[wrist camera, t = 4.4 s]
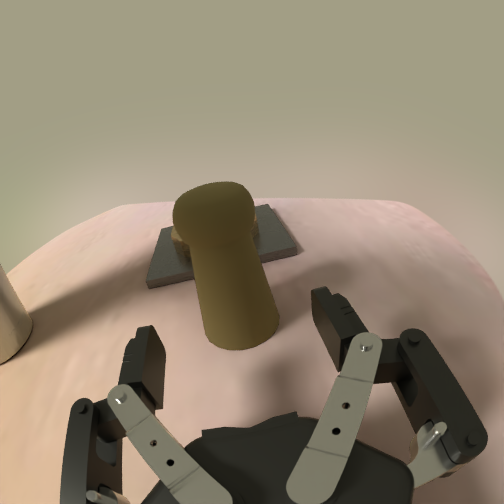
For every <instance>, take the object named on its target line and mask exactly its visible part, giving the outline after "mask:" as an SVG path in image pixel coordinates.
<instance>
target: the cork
mask: <svg viewBox="0 0 504 504" xmlns="http://www.w3.org/2000/svg"><path fill="white" fill-rule="evenodd" d="M254 220H255V206H254V201H253V199H252V197H251V195H250V193H249V192H248V191H247V189H246V188H244V186H243V185H241V184H238V183H235V182H215V183H209V184H205V185H202V186H199V187H196V188H194V189H191V190H189V191H187V192H186V193H184V194H182V195H181V196H180V197H179V198H178V200H177V201H176V202H175V205H174V209H173V224H174V227H175V230H176V232H177V233H178V235H179V237H180V238H181V239H182V241H183V242H184V243H186V244H187V245H188V246H190V253H191V259H192V265H193V271H194V277H195V282H196V288H197V293H198V299H199V304H200V309H201V314H202V319H203V324H204V329H205V334H206V336H207V338H208V339H209V341H210V342H211V343H213V344H214V345H216V346H217V347H219V348H223V349H227V350H244V349H248V348H252V347H255V346H257V345H259V344H261V343H263V342H265V341H266V340H267V339H268V338H270V337H271V336H272V335H273V334H274V333H275V331H276V329H277V327H278V325H279V314H278V311H277V308H276V305H275V302H274V299H273V296H272V293H271V290H270V287H269V284H268V281H267V279H266V276H265V273H264V270H263V267H262V264H261V261H260V258H259V255H258V252H257V249H256V246H255V244H254V241H253V238H252V235H251V232H250V230H251V228H252V226H253V224H254Z"/></svg>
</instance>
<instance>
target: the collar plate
mask: <svg viewBox="0 0 504 504" xmlns="http://www.w3.org/2000/svg"><path fill="white" fill-rule="evenodd" d="M250 232H251V235H252V238H253V241H254V244H255V246H256V249H257V252H258V255H259V258H260V261H261V263H264V262H268V261H273V260H277V259H281V258H285V257H289V256H294V255H297V248H296V245H295V244H294V242H293V240H292V239H291V237H290V236H289V234H288V233H287V231H286V230H285V228H284V227H283V225H282V224H281V223H280V221H279V220H278V218H277V217H276V215H275V214H274V212H273V211H272V209H271V208H270V206H269V205H268V204H265V205H260V206H256V207H255V220H254V224H253V226H252V228H251V230H250ZM191 279H195V277H194V271H193V265H192V259H191V253H190V246H188V245H187V244H186V243H184V242H183V241H182V239H181V238H180V237H179V235H178V233H177V232H176V230H175V227H174V226H171V227H167V228H163V229H161V232H160V235H159V238H158V241H157V245H156V248H155V251H154V254H153V258H152V261H151V265H150V268H149V271H148V275H147V279H146V283H147V285H148V287H149V289H151V288H155V287H160V286H164V285H168V284H173V283H177V282H182V281H186V280H191Z"/></svg>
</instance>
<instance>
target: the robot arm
mask: <svg viewBox="0 0 504 504" xmlns="http://www.w3.org/2000/svg"><path fill="white" fill-rule="evenodd" d="M311 300H312V315H313V320H314V323H315V325H316V327H317V329H318V331H319V333H320V336H321V338H322V340H323V342H324V344H325V346H326V348H327V350H328V352H329V354H330V356H331V358H332V360H333V363H334V365H335V367H336V369H337V371H338V372H341V373H340V375H338V376H337V378H336V380H335V383H334V385H333V388H332V390H331V393H330V395H329V398H328V400H327V402H326V405H325V407H324V410H323V412H322V414H321V417H320V419H315V418H310V417H298V415H297V412H292V413H288V414H285V415H280V416H276V417H273V418H270V419H268V420H266V421H264V422H262V423H260V424H257V425H255V426H253V427H250V428H236V427H221V428H214V429H207V430H202V437H199V438H197V439H195V440H194V441H192V442H191V443H189V444H188V445H187V446H186V447H185V448H184V447H183V446H182V445H181V444H180V443H179V442H178V441H177V440H176V439H175V438H174V437H173V436H172V434H171V433H170V432H169V431H168V430H167V429H166V428H165V427H164V426H163V424H162V423H161V422H160V421H159V420H158V419H157V418H156V416H155V410H158V409H163V396H164V378H165V363H166V352H165V348H164V346H163V344H162V342H161V340H160V338H159V336H158V334H157V332H156V330H155V328H154V327H153V326H152V325H150V326H144V327H139V328H138V329H137V332H136V337H135V338H133V339H131V340H130V341H129V343H128V344H127V346H126V348H125V353H124V357H123V363H122V367H121V372H120V377H119V382H118V385H117V386H115V387H114V388H113V389H112V390H111V391H110V392H109V394H108V397H107V398H106V399H104V400H101V401H98V402H96V403H93V402H92V401H91V400H90V399H88V398H81V399H79V400H77V401H76V402H75V403H74V404H73V406H72V408H71V411H70V417H69V422H68V428H67V434H66V441H65V448H64V456H63V465H62V475H61V489H60V504H130V502H129V501H128V499H127V498H126V497H124V496H123V495H122V438H124V437H126V436H127V437H128V438H129V440H130V441H131V443H132V444H133V445H134V447H135V448H136V449H137V451H138V452H139V453H140V455H141V456H142V457H143V459H144V460H145V461H146V462H147V464H148V465H149V466H150V468H151V469H152V470H153V471H154V472H155V474H156V475H157V476H158V477H159V478H160V480H159V481H158V483H157V484H156V485H155V487H154V488H153V489H152V490H151V492H150V493H149V494H148V495H147V497H146V498H145V499H144V500H143V502H142V503H141V504H412V497H413V492H414V490H415V489H417V488H419V487H421V486H423V485H425V484H427V483H429V482H431V481H433V480H434V479H436V478H438V477H440V478H445V477H448V476H450V475H451V474H453V473H454V472H456V471H457V470H459V469H460V468H461V467H463V466H464V465H466V464H467V463H468V462H470V461H471V460H472V459H473V458H475V457H476V456H477V455H479V454H480V453H481V452H482V451H483V450H484V449H485V447H486V445H487V441H488V435H487V432H486V430H485V428H484V426H483V424H482V422H481V420H480V419H479V417H478V415H477V413H476V412H475V410H474V408H473V406H472V405H471V403H470V401H469V400H468V398H467V396H466V395H465V393H464V391H463V390H462V388H461V386H460V385H459V383H458V382H457V380H456V378H455V377H454V375H453V374H452V372H451V371H450V369H449V367H448V366H447V364H446V363H445V361H444V360H443V358H442V357H441V355H440V354H439V352H438V351H437V349H436V348H435V347H434V345H433V344H432V342H431V341H430V339H429V338H428V336H427V335H426V334H425V333H424V332H423V331H421V330H419V329H413V328H412V329H407V330H405V331H403V332H402V333H401V335H400V338H395V339H380V338H379V337H378V336H377V335H375V334H373V333H369V332H368V330H367V329H366V327H365V326H364V324H363V323H362V321H361V319H360V318H359V317H358V315H357V314H356V312H355V311H354V309H353V308H352V307H351V305H350V303H349V302H348V300H347V299H346V298H345V297H343V296H342V295H340V294H339V293H337V294H334V295H332V294H331V293H330V291H329V289H328V288H327V287H326V286H324V287H321V288H317V289H313V290H311ZM32 324H33V322H32V319H31V318H30V316H29V314H28V313H27V311H26V310H25V308H24V306H23V305H22V303H21V301H20V300H19V298H18V296H17V294H16V292H15V291H14V289H13V287H12V285H11V283H10V282H9V280H8V278H7V276H6V274H5V272H4V270H3V268H2V266H1V264H0V364H1V363H3V362H5V361H6V360H8V359H9V358H11V357H12V356H13V355H14V354H15V353H16V352H17V351H18V350H19V349H20V348H21V347H22V346H23V344H24V343H25V342H26V340H27V338H28V337H29V335H30V333H31V330H32ZM389 382H391V383H392V385H393V387H394V389H395V391H396V393H397V395H398V397H399V400H400V402H401V404H402V406H403V408H404V410H405V412H406V414H407V416H408V418H409V421H410V423H411V425H412V427H413V429H414V431H415V434H416V435H415V436H414V438H413V439H412V440H411V443H410V447H409V449H410V454H411V458H410V462H409V464H408V465H406V464H405V463H404V462H402V461H401V460H399V459H397V458H395V457H392V456H390V455H388V454H386V453H384V452H382V451H380V450H378V449H375V448H373V447H371V446H369V445H367V444H365V443H363V442H361V441H359V440H358V439H356V436H357V433H358V430H359V427H360V425H361V422H362V419H363V415H364V412H365V409H366V406H367V403H368V399H369V396H370V392H371V389H372V385H373V384H379V383H389Z"/></svg>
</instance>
